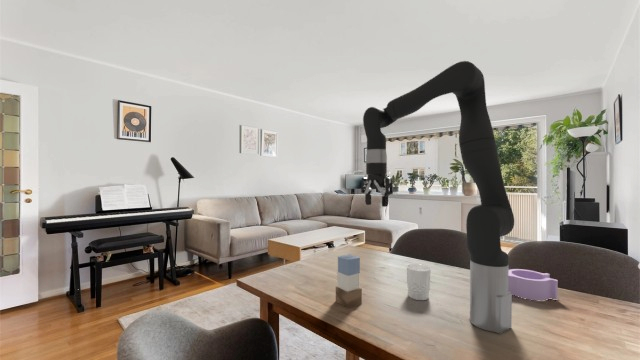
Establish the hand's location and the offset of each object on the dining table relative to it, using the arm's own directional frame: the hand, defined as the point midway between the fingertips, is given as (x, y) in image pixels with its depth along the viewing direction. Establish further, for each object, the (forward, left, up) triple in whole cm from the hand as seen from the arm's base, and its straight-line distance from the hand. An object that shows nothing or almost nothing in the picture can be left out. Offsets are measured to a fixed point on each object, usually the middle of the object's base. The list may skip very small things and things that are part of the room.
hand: (376, 205), depth 110 cm
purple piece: (-32, -38, -30) cm, 58 cm away
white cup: (-15, -5, -30) cm, 34 cm away
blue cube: (-6, +18, -20) cm, 28 cm away
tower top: (-6, +18, -25) cm, 31 cm away
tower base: (-6, +18, -30) cm, 36 cm away
